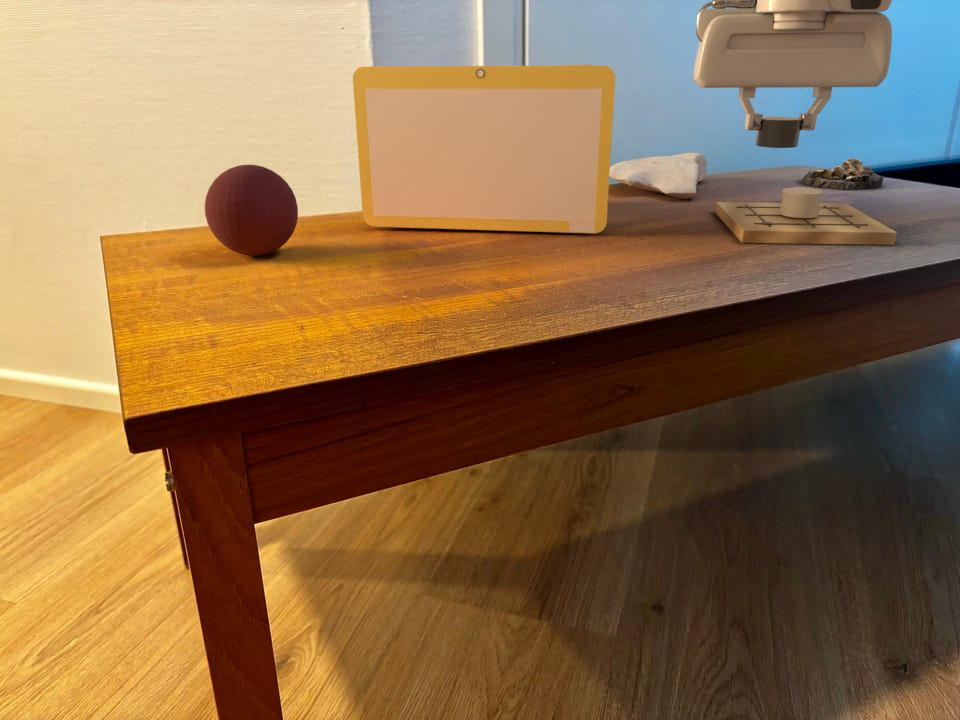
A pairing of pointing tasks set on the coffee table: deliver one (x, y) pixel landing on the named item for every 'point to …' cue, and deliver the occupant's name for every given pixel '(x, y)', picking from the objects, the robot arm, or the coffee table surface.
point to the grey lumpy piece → (844, 177)
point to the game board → (803, 225)
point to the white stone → (800, 202)
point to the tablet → (485, 146)
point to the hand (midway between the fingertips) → (779, 130)
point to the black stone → (779, 132)
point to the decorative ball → (251, 210)
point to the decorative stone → (663, 173)
